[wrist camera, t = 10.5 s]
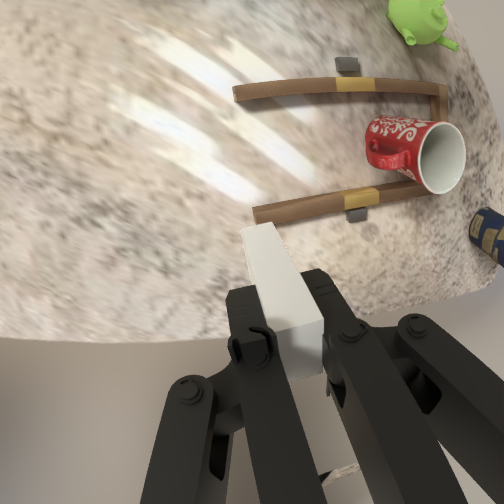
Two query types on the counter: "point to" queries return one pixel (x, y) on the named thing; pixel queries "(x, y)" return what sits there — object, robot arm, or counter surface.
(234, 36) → the counter surface
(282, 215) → the beam slot
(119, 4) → the counter surface
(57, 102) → the counter surface
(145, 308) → the counter surface
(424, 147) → the mug
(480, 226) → the canister
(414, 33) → the teapot
